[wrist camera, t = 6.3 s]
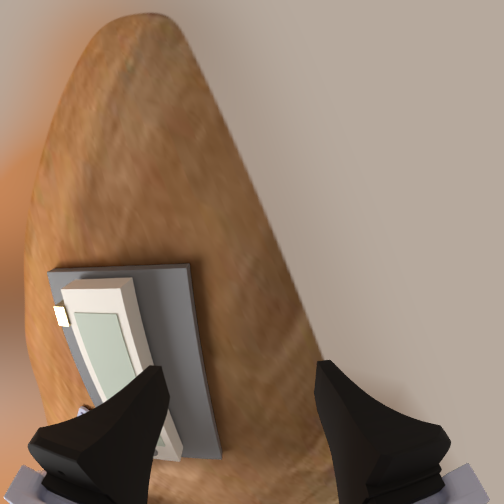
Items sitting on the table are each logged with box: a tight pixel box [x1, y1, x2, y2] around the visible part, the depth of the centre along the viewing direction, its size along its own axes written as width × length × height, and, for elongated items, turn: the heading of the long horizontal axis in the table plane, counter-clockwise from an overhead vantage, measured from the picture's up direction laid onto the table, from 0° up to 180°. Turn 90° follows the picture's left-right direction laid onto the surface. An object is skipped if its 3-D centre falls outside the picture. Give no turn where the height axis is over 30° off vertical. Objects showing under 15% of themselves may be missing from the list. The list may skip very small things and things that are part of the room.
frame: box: [61, 277, 183, 462], centre depth 19 cm, size 18×5×2 cm, turn 4°
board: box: [47, 263, 222, 459], centre depth 20 cm, size 21×12×4 cm, turn 3°
